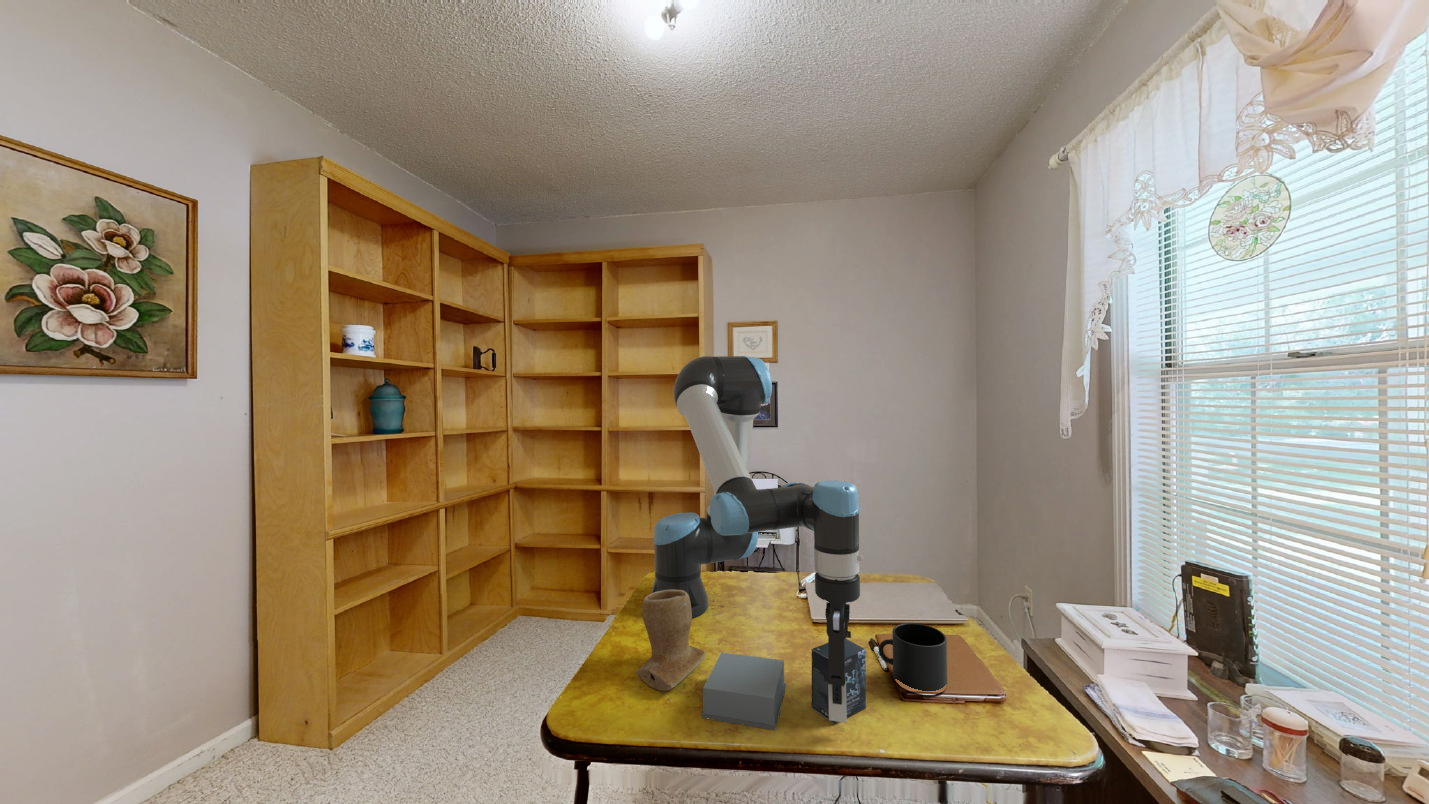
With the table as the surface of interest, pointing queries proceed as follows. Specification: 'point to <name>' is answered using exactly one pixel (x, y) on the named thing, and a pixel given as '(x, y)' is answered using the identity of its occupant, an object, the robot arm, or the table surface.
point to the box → (853, 675)
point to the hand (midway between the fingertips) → (839, 695)
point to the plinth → (745, 691)
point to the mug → (918, 656)
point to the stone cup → (668, 639)
